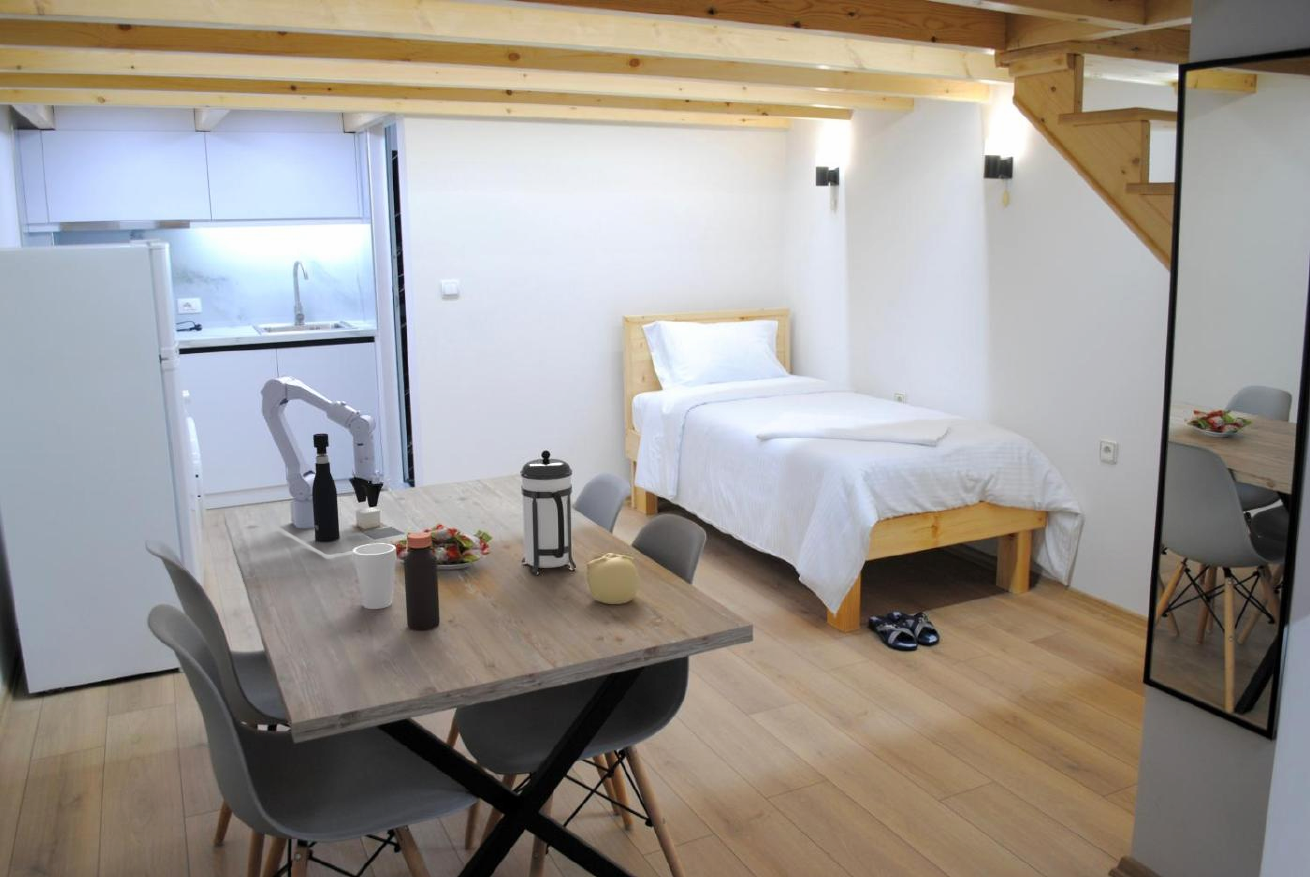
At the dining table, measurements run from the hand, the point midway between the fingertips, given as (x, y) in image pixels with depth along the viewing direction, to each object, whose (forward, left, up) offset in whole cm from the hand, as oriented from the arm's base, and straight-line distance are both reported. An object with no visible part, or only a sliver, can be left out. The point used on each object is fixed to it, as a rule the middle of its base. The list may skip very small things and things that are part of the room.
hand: (367, 504), depth 302 cm
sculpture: (+94, +18, -8) cm, 96 cm away
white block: (0, 0, -6) cm, 6 cm away
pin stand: (0, 0, -7) cm, 7 cm away
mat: (+10, 0, -7) cm, 12 cm away
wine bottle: (+6, -14, -8) cm, 17 cm away
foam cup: (+62, -25, -8) cm, 67 cm away
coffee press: (+65, +20, -8) cm, 68 cm away
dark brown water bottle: (+81, -23, -8) cm, 84 cm away
